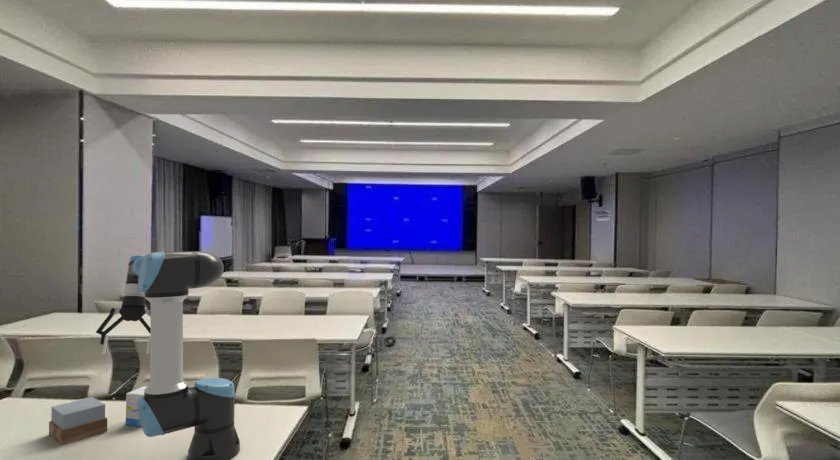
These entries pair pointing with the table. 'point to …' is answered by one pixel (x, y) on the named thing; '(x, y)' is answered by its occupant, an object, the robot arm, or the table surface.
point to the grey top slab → (77, 413)
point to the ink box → (133, 406)
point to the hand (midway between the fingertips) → (125, 354)
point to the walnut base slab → (77, 431)
